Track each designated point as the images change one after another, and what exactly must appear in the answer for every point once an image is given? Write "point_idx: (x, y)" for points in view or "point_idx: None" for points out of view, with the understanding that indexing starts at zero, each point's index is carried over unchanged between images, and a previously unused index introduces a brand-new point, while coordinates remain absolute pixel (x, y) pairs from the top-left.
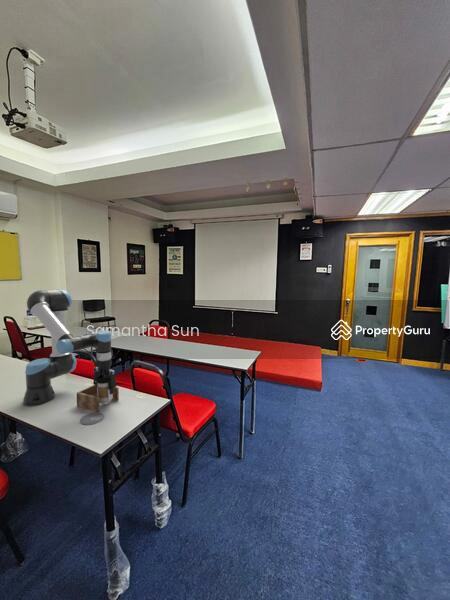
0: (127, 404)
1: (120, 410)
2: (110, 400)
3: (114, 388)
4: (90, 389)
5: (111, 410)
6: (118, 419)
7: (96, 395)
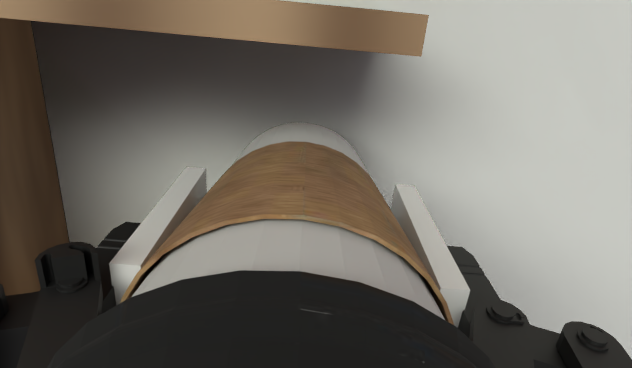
0: (555, 70)
1: (536, 206)
2: (361, 160)
3: (339, 47)
4: None
5: (443, 232)
6: (592, 324)
7: (15, 39)
